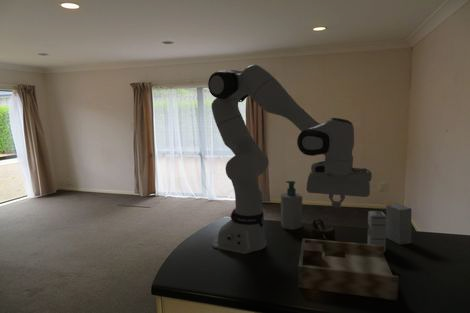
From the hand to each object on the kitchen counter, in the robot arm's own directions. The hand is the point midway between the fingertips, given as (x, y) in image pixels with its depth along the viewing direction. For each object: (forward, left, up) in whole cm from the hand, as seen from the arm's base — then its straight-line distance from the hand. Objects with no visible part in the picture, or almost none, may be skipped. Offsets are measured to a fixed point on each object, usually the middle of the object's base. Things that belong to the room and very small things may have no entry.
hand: (336, 207), depth 103 cm
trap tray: (+3, -4, -22) cm, 23 cm away
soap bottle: (-18, +37, -22) cm, 47 cm away
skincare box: (+27, +30, -22) cm, 46 cm away
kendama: (-4, +27, -23) cm, 36 cm away
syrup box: (+17, +20, -22) cm, 34 cm away
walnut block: (-7, -5, -18) cm, 20 cm away
